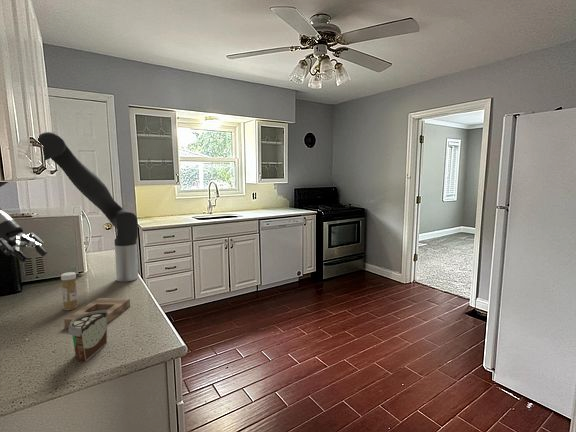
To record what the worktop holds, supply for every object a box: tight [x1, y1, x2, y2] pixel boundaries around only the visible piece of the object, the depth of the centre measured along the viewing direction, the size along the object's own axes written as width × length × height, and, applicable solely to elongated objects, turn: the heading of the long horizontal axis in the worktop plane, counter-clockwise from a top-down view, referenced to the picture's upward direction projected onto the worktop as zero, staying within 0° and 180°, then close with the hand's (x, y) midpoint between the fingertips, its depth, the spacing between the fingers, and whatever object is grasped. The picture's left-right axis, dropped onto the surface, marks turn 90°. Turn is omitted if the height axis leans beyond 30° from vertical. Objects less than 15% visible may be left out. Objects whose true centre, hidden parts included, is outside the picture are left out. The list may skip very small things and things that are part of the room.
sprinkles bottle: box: [60, 271, 79, 311], centre depth 115 cm, size 5×5×13 cm
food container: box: [68, 310, 109, 363], centre depth 87 cm, size 12×6×10 cm, turn 178°
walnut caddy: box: [63, 297, 131, 329], centre depth 110 cm, size 18×12×3 cm, turn 179°
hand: (35, 257), depth 114 cm, fingers open, 8 cm apart
